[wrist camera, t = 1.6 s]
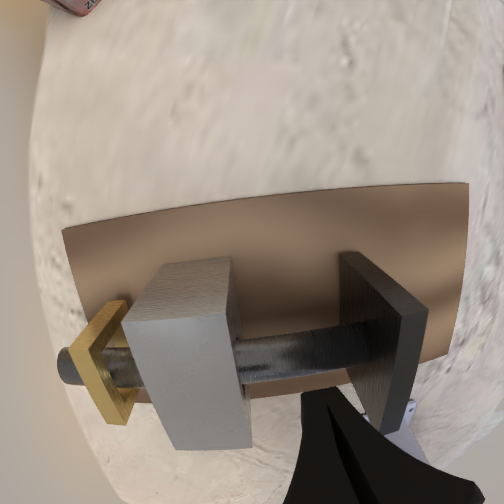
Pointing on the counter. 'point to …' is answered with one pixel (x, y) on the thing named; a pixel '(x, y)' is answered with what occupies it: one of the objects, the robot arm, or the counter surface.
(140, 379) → the shaft
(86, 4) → the soda box
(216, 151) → the counter surface
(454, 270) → the board
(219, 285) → the bearing block
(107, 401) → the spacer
